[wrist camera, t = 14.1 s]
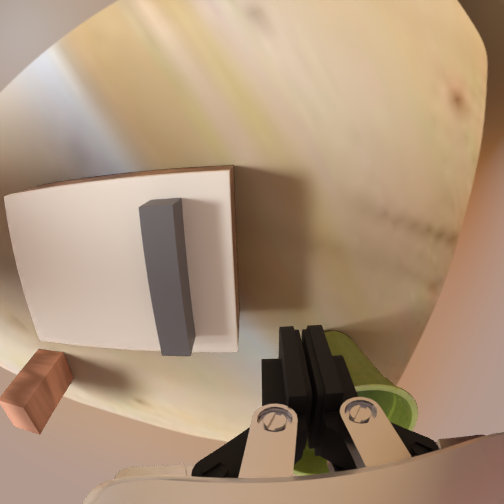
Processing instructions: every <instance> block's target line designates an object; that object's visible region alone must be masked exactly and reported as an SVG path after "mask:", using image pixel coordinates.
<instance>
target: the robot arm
mask: <svg viewBox="0 0 504 504" xmlns="http://www.w3.org/2000/svg"><path fill="white" fill-rule="evenodd" d="M306 440H308V447H309V449H314V453H315V456H321V457H322V458H324V459H326V460H327V466H328V469H329V471H330V473H324V474H314V475H304V476H293V468H294V465H295V464H296V463H297V462H298V461H299V460H300V459H301V458H302V456H303V450H304V449H305V447H306ZM83 504H504V432H501V433H495V434H490V435H473V436H465V437H456V438H446V439H439V440H438V442H434V441H433V440H431V439H430V438H428V437H425V436H423V435H420V434H418V433H415V432H413V431H410V430H408V429H406V428H403V427H401V426H399V425H396V424H394V423H392V422H390V421H389V420H388V418H387V417H386V415H385V413H384V412H383V410H382V409H381V407H380V406H379V405H378V404H377V402H375V401H373V400H372V399H369V398H366V397H358V395H357V392H356V389H355V387H354V384H353V381H352V378H351V376H350V373H349V370H348V368H347V365H346V362H345V360H344V357H343V356H342V355H335V356H332V354H331V351H330V348H329V345H328V342H327V339H326V336H325V333H324V330H323V328H322V325H311V326H307V329H303V330H302V342H301V337H300V333H299V330H294V327H293V326H289V327H280V328H279V359H262V407H260V408H258V409H257V410H256V411H255V412H254V415H253V417H252V421H251V425H250V428H248V429H247V430H245V431H244V432H242V433H241V434H240V435H238V436H237V437H235V438H234V439H232V440H231V441H229V442H228V443H227V444H225V445H223V446H222V447H220V448H219V449H217V450H216V451H214V452H213V453H211V454H210V455H208V456H207V457H205V458H203V459H202V460H200V461H199V462H198V463H197V464H196V465H194V466H185V464H176V465H163V466H142V467H127V468H124V469H122V470H120V471H119V472H118V473H117V474H116V475H115V478H114V479H113V480H110V481H106V482H104V483H102V484H99V485H98V486H96V487H95V488H94V489H93V490H92V491H91V492H90V493H89V494H88V496H87V497H86V499H85V500H84V502H83Z"/></svg>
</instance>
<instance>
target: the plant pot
mask: <svg viewBox="0 0 504 504" xmlns="http://www.w3.org/2000/svg"><path fill="white" fill-rule="evenodd" d="M324 333H325V336H326V339H327V342H328V345H329V348H330V351H331V354H332V356H335V355H342V356H343V357H344V360H345V362H346V365H347V368H348V370H349V373H350V376H351V378H352V381H353V384H354V387H355V389H356V392H357V395H358V397H366V398H369V399H372V400H373V401H375V402H377V404H378V405H379V406H380V407H381V409H382V410H383V412H384V413H385V415H386V417H387V418H388V420H389V421H390V422H392V423H394V424H396V425H399V426H401V427H403V428H406V429H408V430H410V431H413V429H414V427H415V424H416V421H417V417H418V407H417V403H416V402H415V400H414V398H413V397H412V396H411V395H410V394H409V393H408V392H407V391H405V390H404V389H402V388H399V387H397V386H394V385H393V383H392V382H391V381H390V380H388V379H387V378H385V377H383V375H382V374H381V373H380V372H379V371H378V370H377V368H376V367H375V366H374V365H373V364H372V363H371V361H370V360H369V359H368V358H367V357H366V356H365V354H364V353H363V352H362V351H361V350H360V349H359V347H358V346H357V345H356V344H355V343H354V342H353V341H352V339H351V338H350V337H348V336H347V335H345V334H343V333H340V332H337V331H328V332H324ZM301 342H302V340H301ZM324 473H330V471H329V469H328V466H327V460H326V459H324V458H322V457H321V456H315V453H314V449H309V447H308V440H306V447H305V449H304V450H303V456H302V458H301V459H300V460H299V461H298V462H297V463H296V464H295V465H294V468H293V474H296V475H299V476H304V475H314V474H324Z"/></svg>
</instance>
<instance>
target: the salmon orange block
mask: <svg viewBox="0 0 504 504" xmlns="http://www.w3.org/2000/svg"><path fill="white" fill-rule="evenodd" d="M73 379H74V378H73V375H72V373H71V371H70V368H69V366H68V363H67V361H66V358H65V355H64V353H63V352H57V351H49V350H42V349H38V351H37V352H36V353H35V354H34V355H33V357H32V358H31V359H30V360H29V361H28V363H27V364H26V365H25V366H24V368H23V369H22V370H21V371H20V372H19V374H18V375H17V376H16V377H15V379H14V380H13V381H12V383H11V384H10V385H9V386H8V388H7V389H6V390H5V391H4V393H3V394H2V395H1V397H0V404H1V406H2V407H3V409H4V411H5V412H6V414H7V415H8V417H9V418H10V420H11V422H12V423H13V425H14V426H16V427H18V428H21V429H25V430H27V431H30V432H33V433H37V434H41V432H42V430H43V428H44V427H45V425H46V423H47V421H48V420H49V418H50V416H51V415H52V413H53V411H54V410H55V408H56V406H57V405H58V403H59V401H60V400H61V398H62V396H63V395H64V393H65V392H66V390H67V388H68V387H69V385H70V384H71V382H72V380H73Z"/></svg>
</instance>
